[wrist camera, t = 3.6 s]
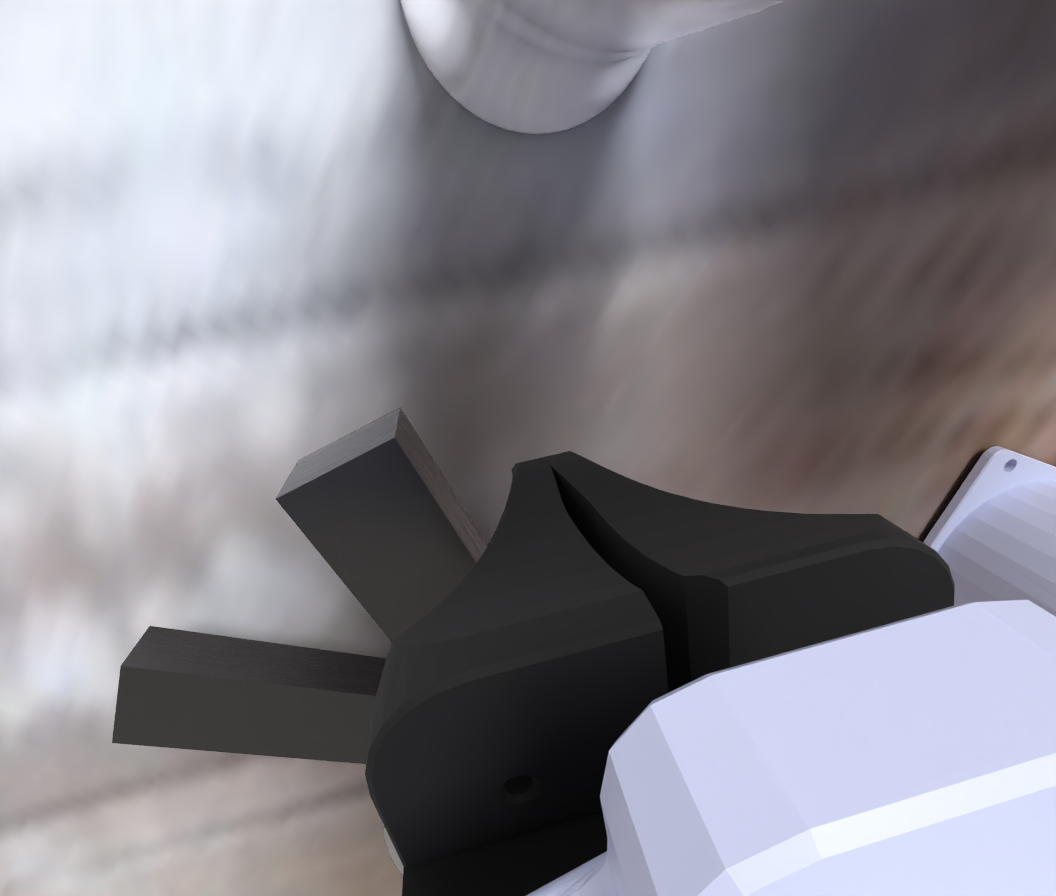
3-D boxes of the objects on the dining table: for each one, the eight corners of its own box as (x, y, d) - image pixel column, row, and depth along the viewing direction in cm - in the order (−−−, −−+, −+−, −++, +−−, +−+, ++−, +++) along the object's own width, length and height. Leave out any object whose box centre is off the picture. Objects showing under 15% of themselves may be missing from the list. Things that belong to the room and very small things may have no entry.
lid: (815, 790, 18) (866, 866, 16) (503, 940, 19) (512, 1034, 16) (626, 279, 10) (676, 291, 8) (93, 556, 11) (6, 637, 9)
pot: (808, 576, 20) (890, 652, 16) (678, 789, 24) (723, 890, 20) (207, 438, 14) (129, 506, 11) (159, 747, 18) (90, 877, 14)
